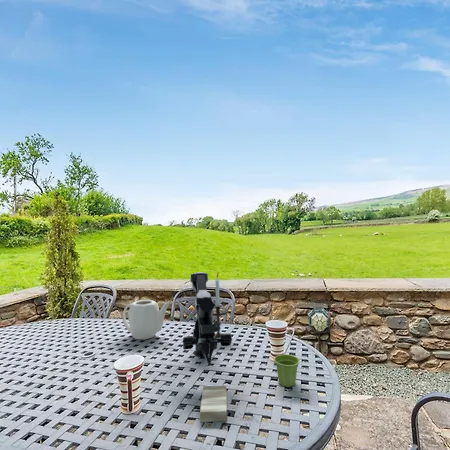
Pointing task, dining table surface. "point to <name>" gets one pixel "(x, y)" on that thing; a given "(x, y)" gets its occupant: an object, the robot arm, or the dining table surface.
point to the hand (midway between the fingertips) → (209, 363)
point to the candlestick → (218, 308)
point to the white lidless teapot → (144, 318)
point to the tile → (213, 404)
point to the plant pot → (286, 369)
